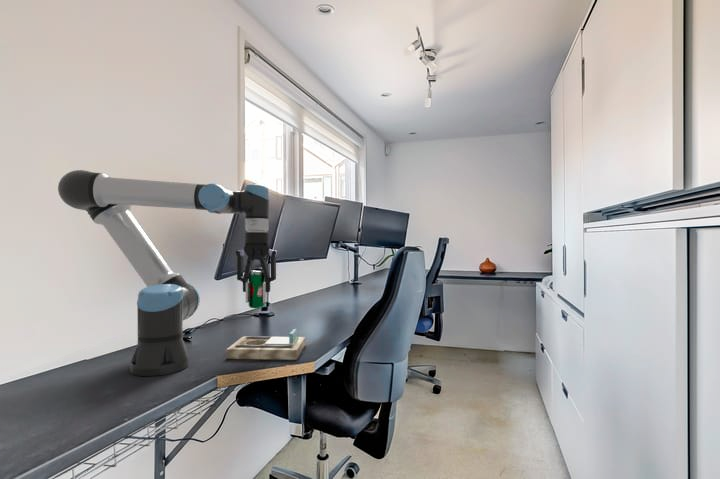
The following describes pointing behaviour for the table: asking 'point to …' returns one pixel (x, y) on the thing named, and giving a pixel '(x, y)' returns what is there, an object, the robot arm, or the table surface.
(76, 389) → the table surface
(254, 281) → the soda can
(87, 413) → the table surface
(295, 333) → the shutter
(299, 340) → the socket board
